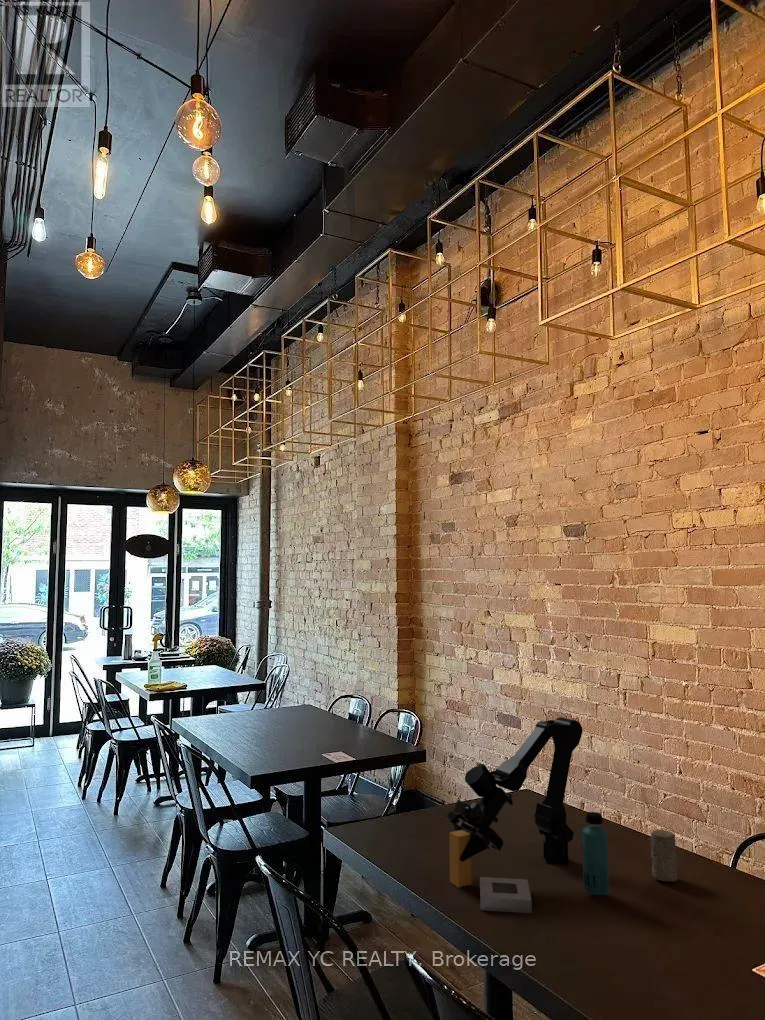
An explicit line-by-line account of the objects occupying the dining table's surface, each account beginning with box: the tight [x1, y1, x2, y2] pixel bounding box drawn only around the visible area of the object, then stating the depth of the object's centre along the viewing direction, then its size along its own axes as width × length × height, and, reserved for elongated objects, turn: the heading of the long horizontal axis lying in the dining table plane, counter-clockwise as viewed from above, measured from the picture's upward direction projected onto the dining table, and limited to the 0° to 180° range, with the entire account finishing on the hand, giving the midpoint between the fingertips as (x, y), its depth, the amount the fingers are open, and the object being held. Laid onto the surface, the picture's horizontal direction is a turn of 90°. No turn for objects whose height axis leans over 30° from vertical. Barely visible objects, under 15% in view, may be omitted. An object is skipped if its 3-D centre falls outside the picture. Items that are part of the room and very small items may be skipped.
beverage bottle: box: [581, 811, 610, 896], centre depth 176 cm, size 6×7×20 cm
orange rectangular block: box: [449, 830, 472, 888], centre depth 183 cm, size 4×4×12 cm
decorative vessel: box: [650, 829, 678, 883], centre depth 186 cm, size 6×8×12 cm
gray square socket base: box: [479, 876, 533, 914], centre depth 172 cm, size 12×12×3 cm
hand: (455, 857), depth 182 cm, fingers closed on orange rectangular block, 4 cm apart
